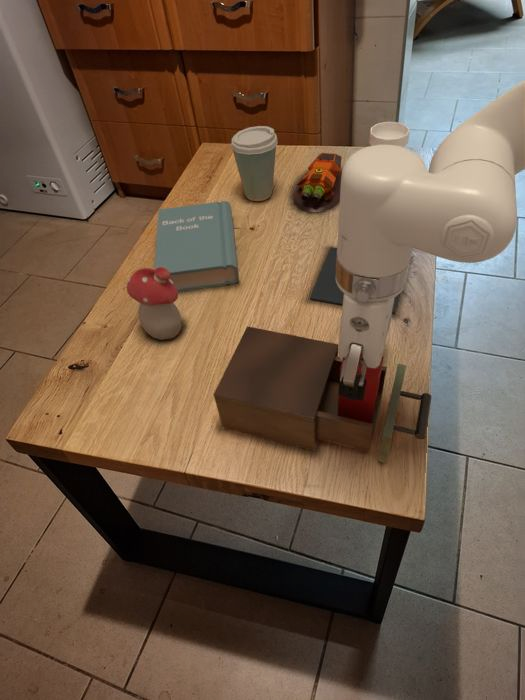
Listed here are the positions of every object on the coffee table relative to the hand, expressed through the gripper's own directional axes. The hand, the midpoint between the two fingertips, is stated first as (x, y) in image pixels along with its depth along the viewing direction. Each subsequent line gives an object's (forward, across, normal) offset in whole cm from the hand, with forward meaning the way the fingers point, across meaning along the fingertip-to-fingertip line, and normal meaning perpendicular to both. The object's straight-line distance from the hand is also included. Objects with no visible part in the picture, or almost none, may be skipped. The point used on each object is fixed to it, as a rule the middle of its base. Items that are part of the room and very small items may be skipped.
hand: (359, 367), depth 64 cm
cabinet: (+13, 0, +12) cm, 17 cm away
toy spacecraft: (+13, +62, +22) cm, 67 cm away
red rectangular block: (+11, 0, 0) cm, 11 cm away
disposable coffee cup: (+14, +57, +36) cm, 68 cm away
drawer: (+12, 0, -1) cm, 12 cm away
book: (+14, +32, +40) cm, 53 cm away
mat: (+13, +32, +6) cm, 35 cm away
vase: (+13, +69, +8) cm, 71 cm away
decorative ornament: (+14, +10, +38) cm, 41 cm away
